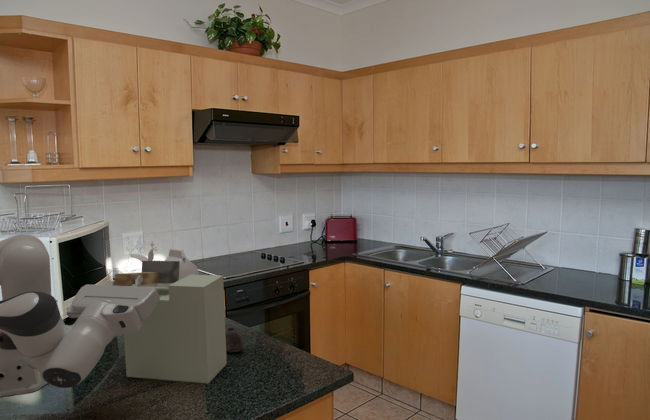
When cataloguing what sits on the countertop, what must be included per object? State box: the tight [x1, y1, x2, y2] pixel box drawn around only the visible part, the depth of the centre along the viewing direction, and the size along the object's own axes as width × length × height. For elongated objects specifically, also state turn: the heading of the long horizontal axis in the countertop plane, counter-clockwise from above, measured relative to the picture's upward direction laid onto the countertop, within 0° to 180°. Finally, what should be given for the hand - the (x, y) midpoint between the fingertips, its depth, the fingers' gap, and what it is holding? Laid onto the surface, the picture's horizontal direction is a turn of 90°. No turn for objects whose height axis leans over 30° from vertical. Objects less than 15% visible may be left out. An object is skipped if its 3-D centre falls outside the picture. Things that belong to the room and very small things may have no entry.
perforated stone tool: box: [225, 324, 243, 353], centre depth 147 cm, size 15×5×7 cm, turn 20°
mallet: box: [114, 260, 180, 286], centre depth 123 cm, size 21×8×6 cm, turn 168°
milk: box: [157, 248, 200, 287], centre depth 174 cm, size 12×12×26 cm
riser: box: [123, 274, 228, 384], centre depth 130 cm, size 12×24×26 cm, turn 79°
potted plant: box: [129, 241, 158, 287], centre depth 200 cm, size 13×12×25 cm
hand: (131, 276), depth 118 cm, fingers closed on mallet, 3 cm apart
